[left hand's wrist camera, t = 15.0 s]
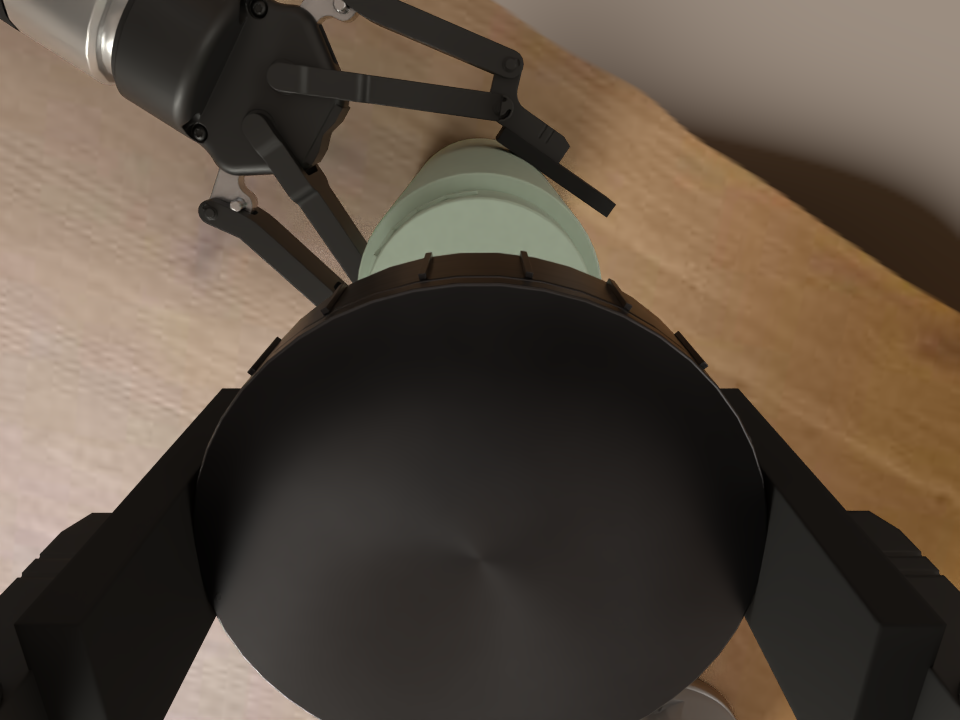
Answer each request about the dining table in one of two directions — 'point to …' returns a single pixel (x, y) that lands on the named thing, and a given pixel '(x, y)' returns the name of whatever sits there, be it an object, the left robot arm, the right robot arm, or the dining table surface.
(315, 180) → the right robot arm
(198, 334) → the dining table surface
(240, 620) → the lid
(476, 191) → the jar
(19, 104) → the dining table surface
